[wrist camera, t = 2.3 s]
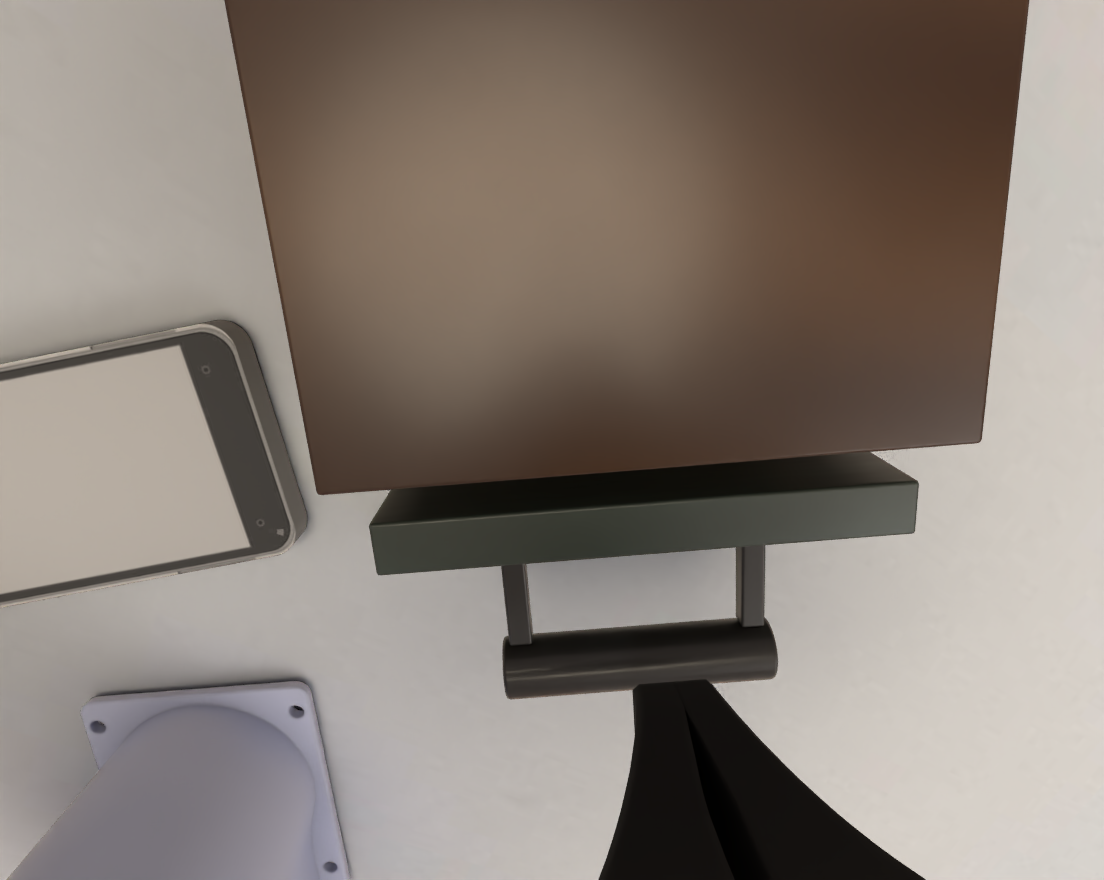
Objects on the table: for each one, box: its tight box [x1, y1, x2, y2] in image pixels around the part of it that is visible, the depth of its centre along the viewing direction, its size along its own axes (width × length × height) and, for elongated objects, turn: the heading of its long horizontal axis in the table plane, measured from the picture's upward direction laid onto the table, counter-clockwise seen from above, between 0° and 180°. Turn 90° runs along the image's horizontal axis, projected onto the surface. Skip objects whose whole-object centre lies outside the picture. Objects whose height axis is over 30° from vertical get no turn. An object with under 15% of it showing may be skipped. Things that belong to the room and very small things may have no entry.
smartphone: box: [0, 320, 307, 608], centre depth 20 cm, size 7×1×15 cm
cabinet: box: [224, 0, 1029, 495], centre depth 14 cm, size 15×13×9 cm
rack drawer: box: [369, 452, 919, 699], centre depth 16 cm, size 18×11×7 cm, turn 4°
